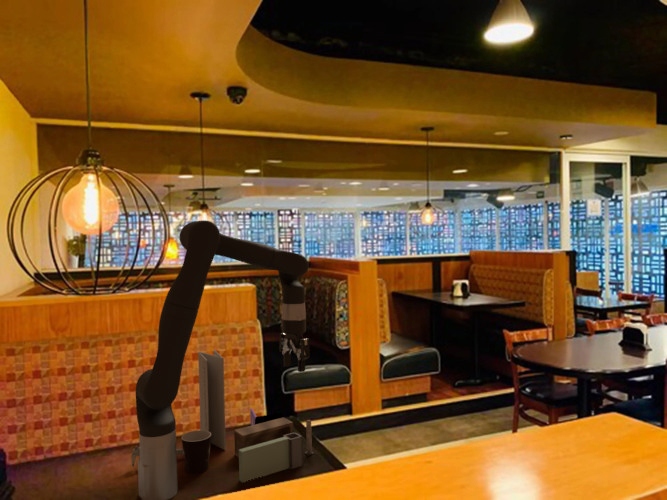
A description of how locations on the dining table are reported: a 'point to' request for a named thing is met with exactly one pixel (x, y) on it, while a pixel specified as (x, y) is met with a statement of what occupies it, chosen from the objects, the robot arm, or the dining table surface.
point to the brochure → (212, 397)
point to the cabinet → (268, 434)
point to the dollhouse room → (262, 418)
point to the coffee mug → (196, 451)
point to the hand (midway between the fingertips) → (294, 368)
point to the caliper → (137, 453)
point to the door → (270, 457)
